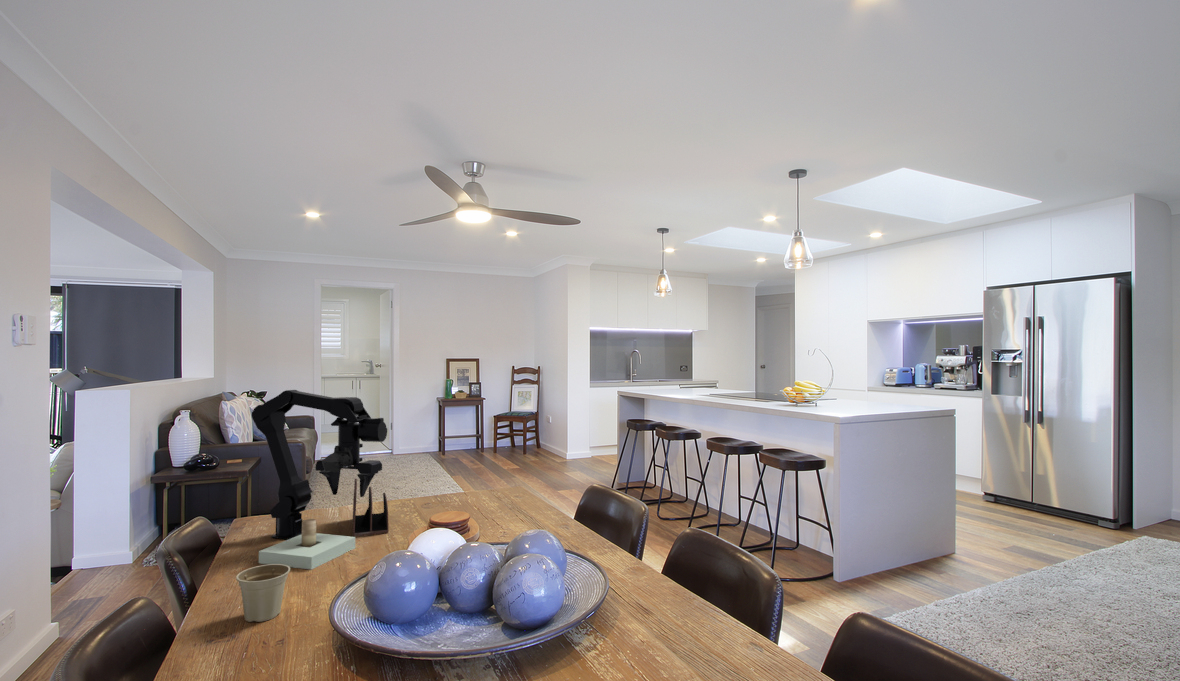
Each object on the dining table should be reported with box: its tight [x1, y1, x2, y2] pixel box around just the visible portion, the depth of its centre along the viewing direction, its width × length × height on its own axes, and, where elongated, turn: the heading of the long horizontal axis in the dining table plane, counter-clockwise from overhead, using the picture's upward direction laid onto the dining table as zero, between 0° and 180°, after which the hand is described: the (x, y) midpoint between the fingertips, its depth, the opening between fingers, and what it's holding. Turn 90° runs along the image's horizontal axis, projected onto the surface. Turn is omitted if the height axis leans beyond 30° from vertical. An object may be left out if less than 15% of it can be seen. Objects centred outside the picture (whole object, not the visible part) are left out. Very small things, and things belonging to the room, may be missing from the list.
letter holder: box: [351, 478, 390, 538], centre depth 173 cm, size 10×20×14 cm, turn 23°
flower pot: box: [235, 564, 291, 623], centre depth 113 cm, size 9×9×9 cm
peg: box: [301, 518, 317, 547], centre depth 147 cm, size 4×4×9 cm
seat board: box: [258, 532, 356, 570], centre depth 147 cm, size 16×16×3 cm
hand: (348, 495), depth 162 cm, fingers open, 9 cm apart
